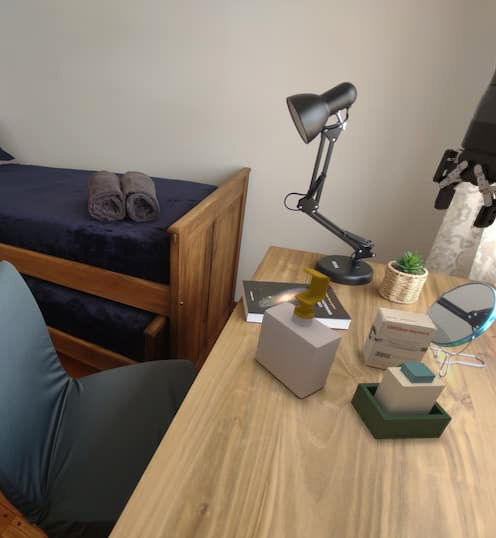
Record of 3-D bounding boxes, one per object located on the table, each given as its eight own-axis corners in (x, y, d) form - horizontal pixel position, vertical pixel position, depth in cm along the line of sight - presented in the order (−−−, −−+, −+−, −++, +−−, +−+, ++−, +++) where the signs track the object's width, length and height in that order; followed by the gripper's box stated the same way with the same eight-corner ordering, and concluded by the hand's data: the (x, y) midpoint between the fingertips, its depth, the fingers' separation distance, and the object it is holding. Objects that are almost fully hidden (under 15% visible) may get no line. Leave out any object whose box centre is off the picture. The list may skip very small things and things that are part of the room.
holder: (409, 400, 65) (419, 381, 62) (439, 437, 58) (452, 418, 56) (350, 401, 65) (358, 383, 62) (375, 438, 58) (385, 419, 56)
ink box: (407, 359, 73) (430, 313, 68) (415, 376, 69) (440, 329, 63) (360, 350, 76) (378, 305, 70) (364, 366, 72) (384, 319, 66)
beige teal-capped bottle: (368, 406, 63) (390, 360, 57) (405, 405, 63) (430, 359, 57) (382, 426, 59) (407, 379, 54) (421, 425, 59) (449, 378, 54)
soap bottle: (253, 358, 74) (273, 259, 63) (276, 348, 77) (299, 251, 65) (300, 401, 65) (334, 294, 53) (325, 387, 67) (363, 282, 56)
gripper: (580, 124, 48) (518, 233, 57) (487, 111, 61) (448, 203, 69) (525, 126, 48) (472, 235, 56) (443, 113, 61) (409, 204, 69)
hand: (459, 217), depth 63 cm, fingers open, 8 cm apart
